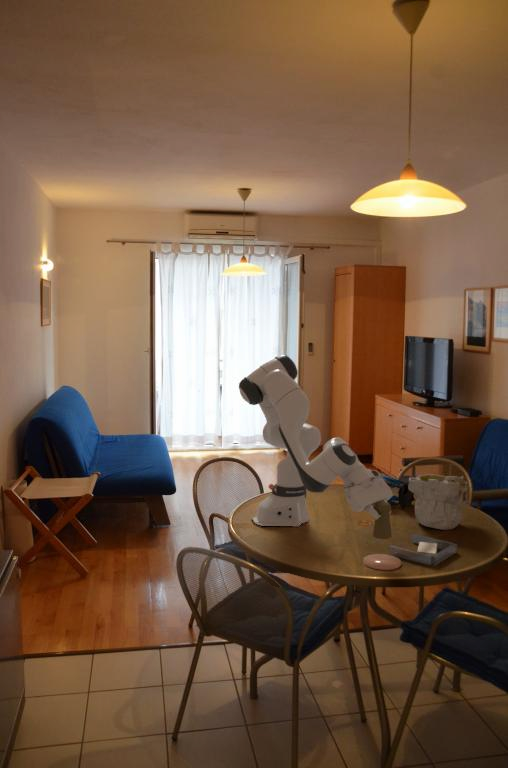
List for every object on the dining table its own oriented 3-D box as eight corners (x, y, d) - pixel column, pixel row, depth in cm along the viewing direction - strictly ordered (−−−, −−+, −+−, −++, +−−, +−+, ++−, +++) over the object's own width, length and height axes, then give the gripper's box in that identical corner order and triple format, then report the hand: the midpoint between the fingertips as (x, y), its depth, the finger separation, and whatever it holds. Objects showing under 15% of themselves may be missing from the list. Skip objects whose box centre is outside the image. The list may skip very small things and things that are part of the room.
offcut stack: (416, 561, 214) (416, 552, 214) (419, 549, 225) (419, 541, 224) (435, 563, 212) (435, 554, 212) (437, 551, 223) (437, 543, 223)
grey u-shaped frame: (389, 554, 219) (389, 546, 219) (413, 541, 231) (413, 533, 231) (433, 566, 208) (433, 557, 208) (456, 552, 221) (456, 543, 221)
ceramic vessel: (411, 488, 271) (449, 447, 260) (453, 533, 261) (495, 492, 250) (385, 499, 254) (425, 455, 242) (430, 548, 243) (474, 504, 232)
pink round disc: (372, 571, 204) (372, 569, 204) (357, 557, 216) (357, 555, 216) (407, 568, 207) (407, 565, 207) (391, 554, 219) (391, 552, 219)
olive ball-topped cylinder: (391, 539, 207) (392, 505, 206) (372, 538, 208) (373, 504, 207) (391, 533, 213) (392, 500, 212) (372, 532, 214) (373, 499, 213)
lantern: (410, 521, 275) (354, 509, 288) (419, 488, 283) (365, 477, 295) (402, 504, 263) (345, 492, 276) (413, 469, 271) (356, 459, 283)
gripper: (346, 481, 205) (373, 517, 200) (380, 470, 221) (406, 504, 215) (334, 492, 209) (360, 528, 203) (369, 481, 224) (393, 514, 219)
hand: (384, 516), depth 209 cm, fingers closed on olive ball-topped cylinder, 5 cm apart
